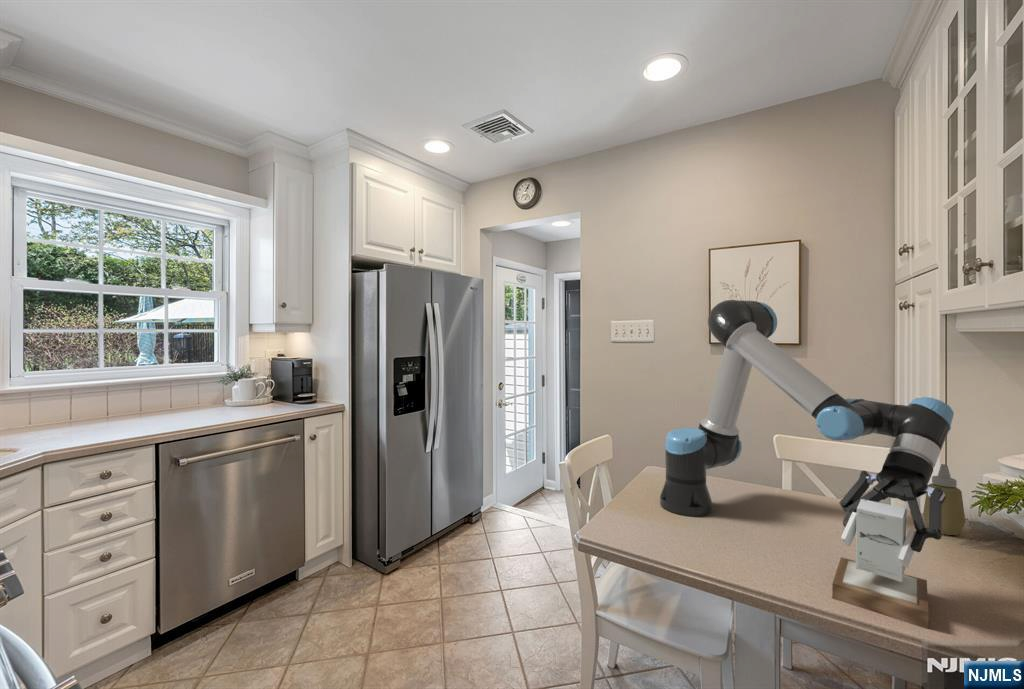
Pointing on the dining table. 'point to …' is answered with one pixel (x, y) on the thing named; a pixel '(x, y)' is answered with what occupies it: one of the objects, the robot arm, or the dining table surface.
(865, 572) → the picture frame
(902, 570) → the supplement box
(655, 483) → the dining table surface
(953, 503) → the squeeze bottle
